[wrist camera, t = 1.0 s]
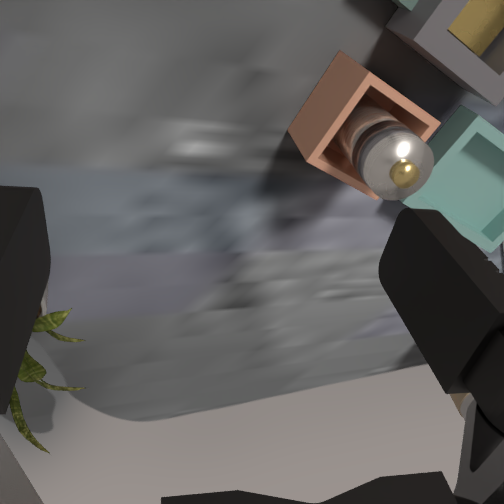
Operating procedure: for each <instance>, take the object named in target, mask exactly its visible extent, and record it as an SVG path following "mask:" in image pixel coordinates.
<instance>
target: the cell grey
mask: <svg viewBox="0 0 504 504" xmlns="http://www.w3.org/2000/svg"><path fill="white" fill-rule="evenodd" d="M332 140H333V141H334V142H335V144H336V145H337V146H338V148H339V149H340V150H341V151H342V153H343V154H344V155H345V156H346V158H347V159H348V160H349V162H350V163H351V164H352V165H353V167H354V169H355V170H356V172H357V173H358V174H359V176H360V177H361V178H362V179H363V181H364V182H365V183H366V185H367V186H368V187H369V188H370V189H371V190H372V191H373V192H374V193H375V194H376V195H377V196H378V197H380V198H382V199H385V200H400V199H404V198H406V197H409V196H411V195H412V194H414V193H415V192H417V191H418V190H419V189H420V188H422V186H423V185H424V184H425V183H426V182H427V180H428V179H429V177H430V175H431V173H432V170H433V166H434V156H433V152H432V150H431V148H430V147H429V146H428V145H427V144H426V143H425V142H424V141H423V140H422V139H421V138H420V137H419V136H418V135H416V134H415V133H414V132H413V131H412V130H410V129H409V128H408V127H407V126H406V125H404V124H403V123H401V122H400V121H398V120H397V119H396V118H395V117H394V116H392V115H391V114H390V113H389V112H388V111H386V110H385V109H384V108H383V107H382V106H380V105H379V104H378V103H377V102H376V101H374V100H373V99H372V98H371V97H370V96H368V95H367V94H366V93H364V95H363V96H362V97H361V99H360V100H359V102H358V103H357V104H356V106H355V107H354V109H353V110H352V111H351V113H350V114H349V116H348V117H347V118H346V120H345V121H344V123H343V124H342V125H341V127H340V128H339V129H338V131H337V132H336V134H335V135H334V136H333V138H332Z"/></svg>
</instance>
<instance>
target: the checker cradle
mask: <svg viewBox="0 0 504 504" xmlns="http://www.w3.org/2000/svg"><path fill="white" fill-rule="evenodd" d="M391 1H392V2H394V3H395V4H396V5H397V6H398V9H397V10H396V11H395V13H394V14H393V16H392V17H391V19H390V20H389V22H388V23H387V25H386V26H385V27H386V28H387V29H389V30H390V31H391V32H392V33H394V34H395V35H396V36H397V37H399V38H400V39H401V40H403V41H404V42H405V43H406V44H408V45H409V46H410V47H411V48H413V49H414V50H415V51H416V52H418V53H419V54H420V55H421V56H423V57H424V58H425V59H426V60H428V61H429V62H430V63H431V64H433V65H434V66H435V67H437V68H438V69H439V70H440V71H442V72H443V73H444V74H445V75H447V76H448V77H449V78H450V79H452V80H453V81H454V82H455V83H457V84H458V85H459V86H460V87H462V88H463V89H465V90H467V91H469V92H471V93H472V94H474V95H476V96H478V97H480V98H481V99H483V100H485V101H487V102H489V103H490V104H492V105H494V106H497V105H498V104H499V102H500V101H501V100H502V99H503V98H504V27H503V29H502V30H501V31H500V32H499V33H498V35H497V36H496V37H495V38H494V40H493V41H492V42H491V43H490V45H489V46H488V47H487V48H486V49H485V51H484V52H483V53H482V54H481V56H480V57H479V56H477V55H475V54H474V53H473V52H471V51H470V50H469V49H468V48H467V47H466V46H465V45H463V44H462V43H461V42H460V41H459V40H458V39H456V38H455V37H454V36H453V35H452V34H451V33H449V32H448V31H447V29H448V28H449V27H450V25H451V24H452V23H453V21H454V20H455V19H456V17H457V16H458V15H459V13H460V12H461V11H462V9H463V8H464V7H465V5H466V4H467V3H468V1H469V0H391Z"/></svg>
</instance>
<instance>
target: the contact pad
mask: <svg viewBox="0 0 504 504" xmlns="http://www.w3.org/2000/svg"><path fill="white" fill-rule="evenodd" d="M503 27H504V0H469V1H468V3H467V4H466V5H465V7H464V8H463V9H462V11H461V12H460V13H459V15H458V16H457V17H456V19H455V20H454V21H453V23H452V24H451V25H450V27H449V28H448V29H447V31H448V32H449V33H451V34H452V35H453V36H454V37H455V38H456V39H458V40H459V41H460V42H461V43H462V44H463V45H465V46H466V47H467V48H468V49H469V50H470V51H471V52H473V53H474V54H475V55H477V56H479V57H480V56H481V54H482V53H483V52H484V51H485V49H486V48H487V47H488V46H489V45H490V43H491V42H492V41H493V40H494V38H495V37H496V36H497V35H498V33H499V32H500V31H501V30H502V29H503Z"/></svg>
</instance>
